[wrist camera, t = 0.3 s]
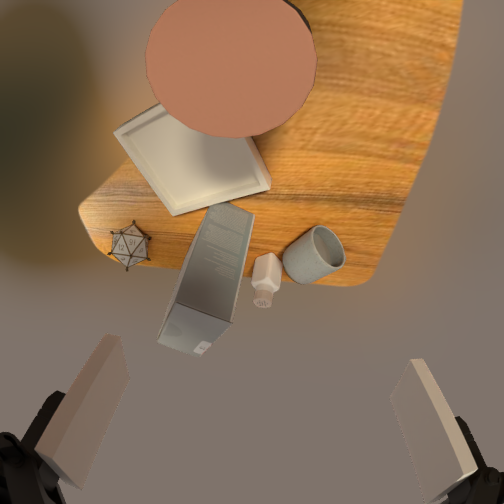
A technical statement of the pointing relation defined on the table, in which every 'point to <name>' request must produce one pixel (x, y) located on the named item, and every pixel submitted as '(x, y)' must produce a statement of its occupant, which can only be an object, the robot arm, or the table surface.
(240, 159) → the tray
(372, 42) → the table surface
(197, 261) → the hard drive box
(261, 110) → the coffee jar
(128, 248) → the game die
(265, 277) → the pepper shaker
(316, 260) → the ceramic mug
